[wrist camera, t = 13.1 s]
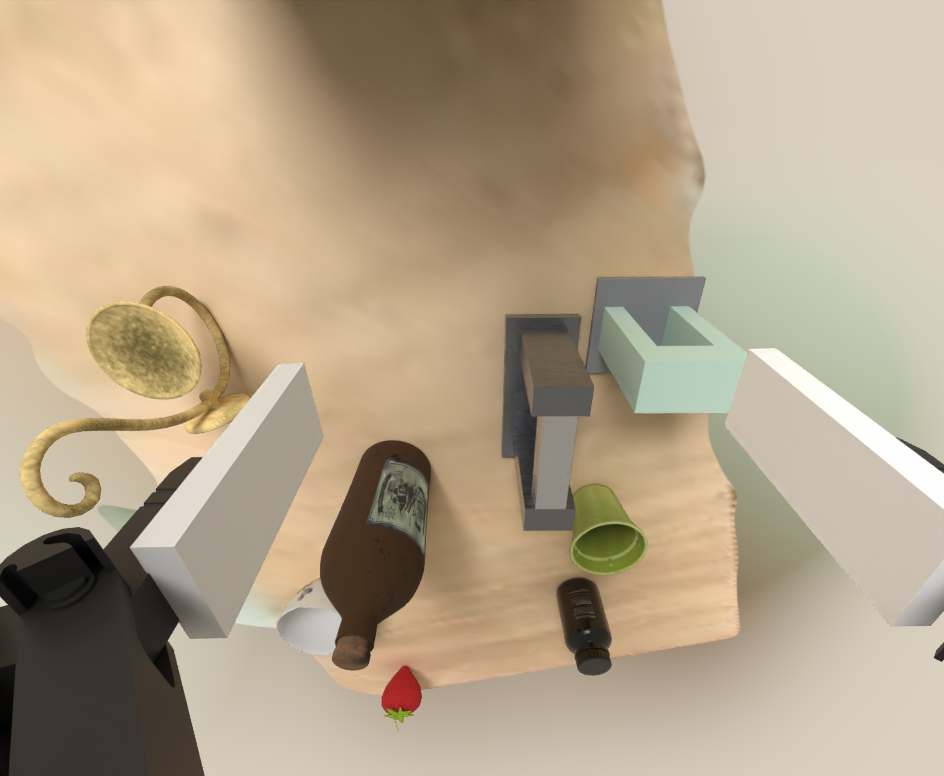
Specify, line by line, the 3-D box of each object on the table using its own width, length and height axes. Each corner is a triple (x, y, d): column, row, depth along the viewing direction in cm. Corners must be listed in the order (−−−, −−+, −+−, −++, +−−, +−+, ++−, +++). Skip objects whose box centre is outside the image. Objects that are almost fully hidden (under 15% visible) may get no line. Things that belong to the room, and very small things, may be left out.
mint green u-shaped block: (604, 306, 47) (645, 361, 36) (689, 306, 47) (757, 361, 36) (598, 349, 49) (634, 413, 38) (678, 348, 49) (738, 412, 38)
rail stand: (505, 314, 48) (516, 375, 36) (578, 314, 48) (614, 375, 36) (501, 452, 57) (508, 537, 45) (562, 451, 57) (586, 537, 45)
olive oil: (403, 508, 63) (366, 705, 41) (340, 470, 59) (263, 664, 38) (451, 464, 59) (438, 658, 37) (386, 421, 55) (330, 607, 34)
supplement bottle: (548, 596, 73) (560, 674, 62) (568, 571, 69) (584, 648, 59) (584, 606, 74) (602, 683, 64) (606, 582, 71) (628, 659, 60)
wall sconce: (285, 373, 52) (149, 546, 30) (213, 390, 53) (33, 567, 31) (224, 258, 45) (-6, 373, 23) (143, 279, 46) (-148, 408, 25)
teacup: (278, 576, 70) (257, 625, 64) (339, 550, 67) (324, 598, 60) (338, 625, 77) (324, 673, 70) (396, 602, 74) (388, 651, 67)
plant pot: (547, 492, 61) (557, 542, 54) (609, 463, 58) (629, 512, 51) (577, 531, 65) (590, 583, 57) (637, 506, 62) (659, 557, 55)
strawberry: (430, 670, 84) (425, 732, 75) (394, 678, 86) (386, 739, 77) (416, 654, 81) (409, 716, 73) (380, 662, 83) (369, 724, 74)
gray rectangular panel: (597, 277, 46) (598, 279, 45) (703, 276, 46) (706, 278, 45) (585, 370, 51) (586, 373, 51) (679, 370, 51) (681, 372, 51)
